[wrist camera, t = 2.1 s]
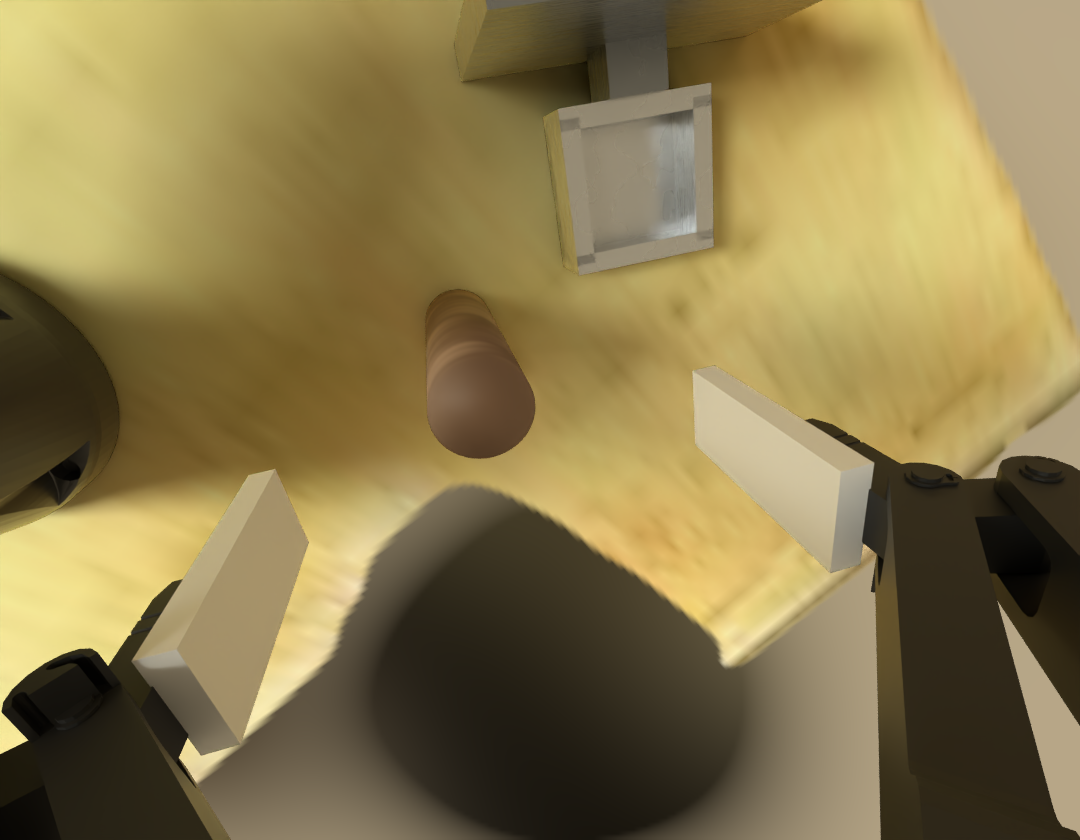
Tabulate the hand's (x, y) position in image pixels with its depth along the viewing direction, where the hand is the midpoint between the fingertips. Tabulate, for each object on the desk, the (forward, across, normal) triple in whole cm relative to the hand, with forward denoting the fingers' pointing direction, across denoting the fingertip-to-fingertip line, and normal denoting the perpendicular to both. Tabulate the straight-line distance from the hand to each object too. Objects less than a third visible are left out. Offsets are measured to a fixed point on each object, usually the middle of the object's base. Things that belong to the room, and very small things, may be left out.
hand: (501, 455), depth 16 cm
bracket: (+17, +11, +8) cm, 22 cm away
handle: (+17, 0, 0) cm, 17 cm away
